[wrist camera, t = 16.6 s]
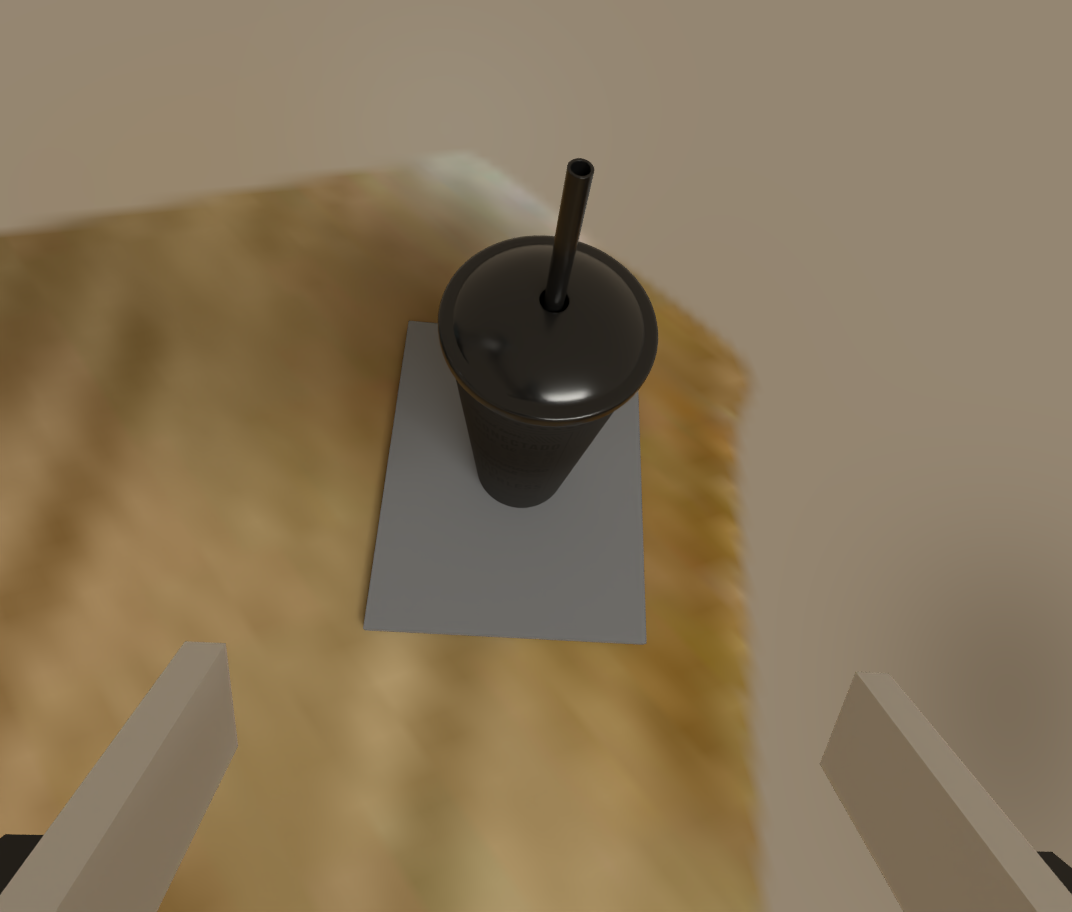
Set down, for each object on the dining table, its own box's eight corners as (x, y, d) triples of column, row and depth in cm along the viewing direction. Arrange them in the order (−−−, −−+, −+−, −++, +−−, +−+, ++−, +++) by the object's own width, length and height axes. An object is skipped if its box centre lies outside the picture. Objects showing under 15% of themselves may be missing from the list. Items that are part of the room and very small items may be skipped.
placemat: (365, 630, 29) (363, 628, 29) (409, 326, 37) (408, 320, 36) (643, 644, 31) (646, 643, 30) (634, 346, 38) (636, 341, 37)
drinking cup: (465, 547, 31) (454, 316, 13) (440, 417, 34) (400, 72, 15) (604, 519, 32) (778, 273, 14) (569, 396, 35) (676, 55, 17)
